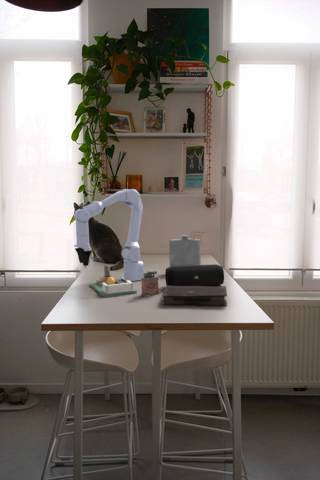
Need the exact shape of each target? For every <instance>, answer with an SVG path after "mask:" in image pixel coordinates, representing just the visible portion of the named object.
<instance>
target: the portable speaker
mask: <svg viewBox="0 0 320 480" xmlns="http://www.w3.org/2000/svg"><path fill="white" fill-rule="evenodd" d="M164 276H165V287H166V286H222V285H223V284H224V282H225V271H224V267H223V266H222V265H219V264H201V265H187V266H171V267H170V266H168V267H166V268H165V275H164Z"/></svg>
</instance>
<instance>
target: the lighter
mask: <svg viewBox="0 0 320 480" xmlns="http://www.w3.org/2000/svg"><path fill="white" fill-rule="evenodd" d="M159 278H160V276H159V275H158V271H157V270H152V271H149V270H148V271H146V272H145V271H144V277H142V278H141V280H140V281H141V296H142V297H146V296H147V297H148V296H155V295H160V291H159V288H160V287H159Z"/></svg>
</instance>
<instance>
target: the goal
mask: <svg viewBox="0 0 320 480" xmlns="http://www.w3.org/2000/svg"><path fill="white" fill-rule="evenodd" d="M133 289H134V283H133V281H129V280H126V281H125V282H124V283H123V284H113V285H107V284H106V283H102V290H103V292H105V293H106V294H110V293H119V292H128V291H133Z"/></svg>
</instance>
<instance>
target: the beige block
mask: <svg viewBox="0 0 320 480" xmlns="http://www.w3.org/2000/svg"><path fill="white" fill-rule="evenodd" d="M103 269H104V275H99V281H100V282H101V283H106V284H107V282H106V281H107V279H108V278H109V277H113V278H114V279H116V276H114V275H113V274H110V273H111V271H110V265H104V268H103Z"/></svg>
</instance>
